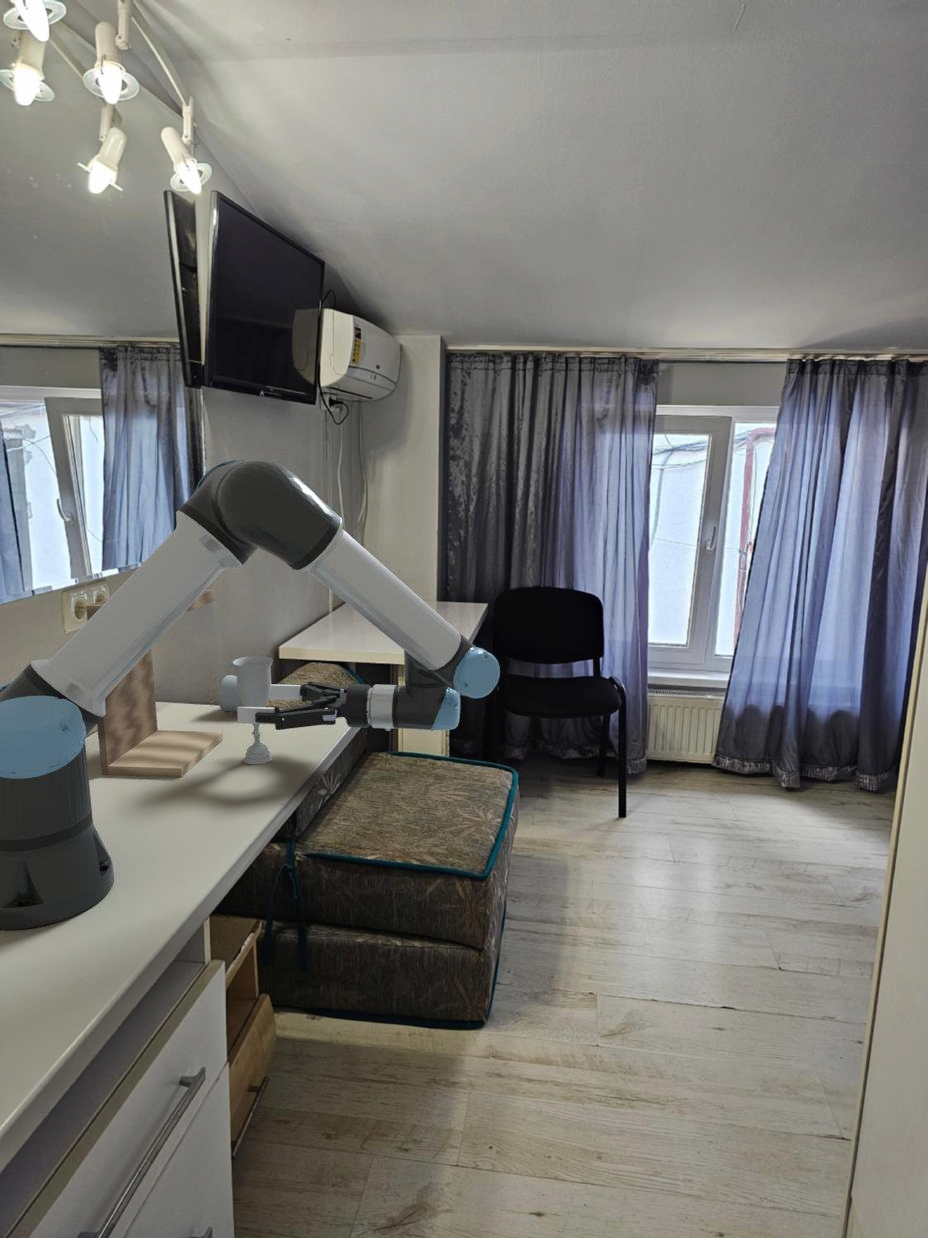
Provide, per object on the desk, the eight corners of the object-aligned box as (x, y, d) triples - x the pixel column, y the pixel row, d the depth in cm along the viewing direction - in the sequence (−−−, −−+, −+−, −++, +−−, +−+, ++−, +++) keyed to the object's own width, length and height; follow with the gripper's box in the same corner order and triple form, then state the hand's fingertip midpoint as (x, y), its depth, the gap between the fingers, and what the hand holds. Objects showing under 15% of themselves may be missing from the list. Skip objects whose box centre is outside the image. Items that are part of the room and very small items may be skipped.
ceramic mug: (254, 717, 159) (253, 681, 158) (217, 715, 160) (216, 680, 159) (274, 703, 169) (273, 669, 168) (239, 701, 171) (238, 668, 169)
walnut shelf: (181, 776, 129) (169, 607, 123) (101, 774, 130) (86, 605, 124) (223, 739, 146) (214, 589, 140) (152, 737, 147) (140, 588, 142)
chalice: (235, 754, 139) (230, 658, 135) (274, 749, 141) (269, 654, 138) (241, 769, 132) (235, 668, 128) (280, 763, 135) (276, 664, 131)
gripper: (356, 752, 122) (226, 748, 123) (384, 705, 146) (276, 702, 148) (355, 707, 120) (224, 703, 122) (383, 667, 145) (274, 664, 146)
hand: (252, 702), depth 135 cm, fingers open, 13 cm apart
